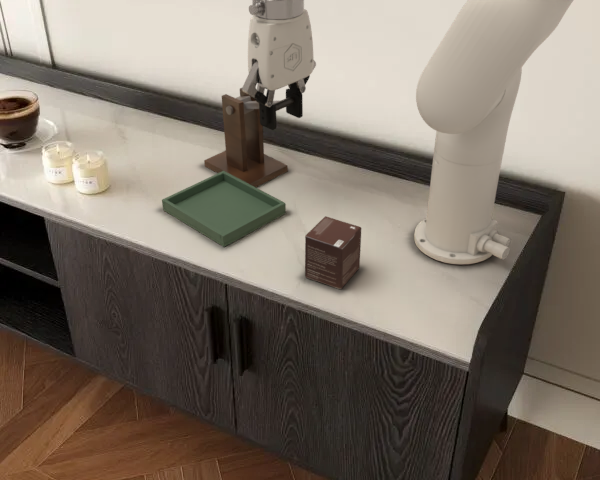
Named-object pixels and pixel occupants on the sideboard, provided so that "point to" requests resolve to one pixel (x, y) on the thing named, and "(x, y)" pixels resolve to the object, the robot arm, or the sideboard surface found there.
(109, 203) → the sideboard surface
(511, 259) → the sideboard surface
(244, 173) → the brown lever stand
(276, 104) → the lever handle
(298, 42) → the robot arm
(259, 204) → the square tray
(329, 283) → the box
